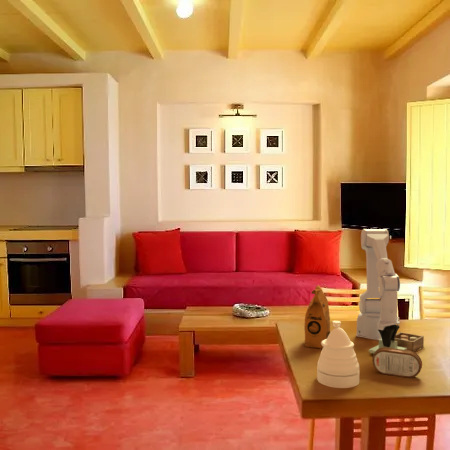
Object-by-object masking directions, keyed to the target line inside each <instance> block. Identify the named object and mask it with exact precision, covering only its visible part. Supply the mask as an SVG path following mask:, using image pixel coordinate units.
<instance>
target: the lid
mask: <svg viewBox="0 0 450 450" xmlns="http://www.w3.org/2000/svg"><path fill="white" fill-rule="evenodd" d="M382 347H385V346H383V342H382V338H381V339H379V340H378V344H377V345H376V346H374V347H372V348H370V349H368V353H370V354H374V353H375V351H376V350H377V349H379V348H382ZM387 348H394V349H402V350H407V348H405V347H399V346H397V341H393V340H391V344H390V347H387Z"/></svg>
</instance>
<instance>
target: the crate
mask: <svg viewBox="0 0 450 450" xmlns="http://www.w3.org/2000/svg"><path fill="white" fill-rule="evenodd" d="M424 337H425V336H424V335H418V334H414V333H408V332H402V331H400V332H397V333H396V336H395V340H394V341H397V346H399V347H405V348H407V350H410V351H413V352H415V353H416V352H417V351H419V350H420V349H422V348H423V347H425V346H424V345H425V344H424V340H425V339H424Z"/></svg>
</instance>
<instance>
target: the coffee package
mask: <svg viewBox="0 0 450 450" xmlns="http://www.w3.org/2000/svg"><path fill="white" fill-rule="evenodd" d="M311 294H312V295H314V296H313V297H312V299H311V300H310V302H309V304H308V307H307V310H306V313H305V315H304V324H303V325H304V345H305V346H306V347H307V348H313V349H314V348H315V349H323V346H322V344H321V342H322V341H323V340H325V339H327V338H328V336H329V334H330V333H331V319H330V318H331V316H330V308H329V307H330V306H329V301H328V299H327V296H326V295H325V293H324V290H322V287H321V286H320V285H317V286H315V289H312V291H311Z"/></svg>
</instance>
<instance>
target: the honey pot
mask: <svg viewBox="0 0 450 450" xmlns="http://www.w3.org/2000/svg"><path fill="white" fill-rule="evenodd" d="M341 324H342V322H341V321H340V320H332V325H333V327H334V328H333V329H332V330H330V334H329V336H328V338H327V339H325V340H323V341H322V342H321V344H322V346H323V348H321V349H322V350H321V352H320V355H319V357H318V361H317V363H316V367H317V368H316V375H317V376H316V380H317V381H318V383H319V384H321V385H324V386H326V387H330V388H336V389H349V388H354V387H356V386H358V385H359V384H360V363H359V362H358V358H357V354H356V352H355V350H354V349H355V347H354V346H355V344H354V342H353V341H351V339H350V337H349V335H348V334H347V332H346V331H345V330H344V329H343V328H342V327H340V326H341Z"/></svg>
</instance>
